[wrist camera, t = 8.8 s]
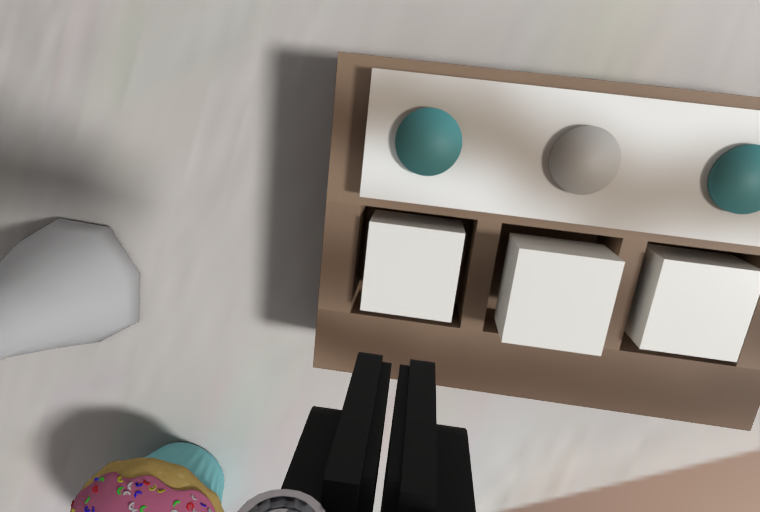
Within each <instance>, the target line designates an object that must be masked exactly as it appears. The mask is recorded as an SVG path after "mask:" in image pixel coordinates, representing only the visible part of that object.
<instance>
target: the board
mask: <svg viewBox="0 0 760 512" xmlns="http://www.w3.org/2000/svg"><path fill="white" fill-rule="evenodd" d="M375 210H384V211H392V212H400V213H408V214H416V215H424V216H432V217H440V218H448V219H455V220H462V222H463V226H464V230H465V240H464V246H463V252H462V259H461V265H460V271H459V277H458V283H457V290H456V296H455V302H454V308H453V315H452V321H451V323H450V322H443V321H436V320H428V319H421V318H414V317H407V316H399V315H392V314H385V313H378V312H370V311H363V310H360V306H361V297H362V287H363V278H364V268H365V259H366V249H367V240H368V230H369V221H370V219H371V218H372V216H373V214H374V212H375ZM510 233H517V234H525V235H533V236H541V237H549V238H557V239H564V240H572V241H580V242H588V243H596V244H604V245H605V246H606V247H607V248H609V249H610V250H611V251H612V252H614V253H615V254H616V255H617V256H618V257H620V258H621V259H622V260H623V261H625V264H624V268H623V272H622V276H621V280H620V284H619V288H618V292H617V296H616V300H615V304H614V308H613V311H612V315H611V319H610V323H609V327H608V331H607V335H606V339H605V343H604V347H603V351H602V355H601V356H596V355H589V354H582V353H574V352H567V351H560V350H553V349H546V348H539V347H532V346H524V345H517V344H510V343H503V342H501V339H500V336H499V333H498V329H497V326H496V322H495V319H494V315H495V310H496V304H497V299H498V294H499V288H500V283H501V278H502V272H503V267H504V261H505V256H506V251H507V245H508V240H509V234H510ZM647 244H653V245H661V246H669V247H677V248H685V249H693V250H700V251H708V252H716V253H724V254H732V255H734V256H736V257H738V258H740V259H742V260H744V261H746V262H748V263H750V264H752V265H754V266H756V267H758V268H760V97H751V96H742V95H733V94H724V93H714V92H705V91H696V90H687V89H677V88H668V87H659V86H650V85H641V84H631V83H622V82H613V81H604V80H594V79H585V78H576V77H567V76H558V75H548V74H539V73H530V72H521V71H511V70H502V69H493V68H484V67H475V66H465V65H456V64H447V63H438V62H428V61H419V60H410V59H401V58H392V57H382V56H373V55H364V54H355V53H345V52H338V61H337V73H336V86H335V98H334V111H333V123H332V136H331V148H330V161H329V173H328V186H327V198H326V211H325V223H324V236H323V248H322V261H321V273H320V286H319V298H318V311H317V323H316V336H315V348H314V361H313V367H315V368H322V369H329V370H336V371H343V372H350V373H353V370H354V366H355V363H356V359H357V355H358V352H364V353H372V354H379V355H383V362H388V363H392V367H391V375H390V378H391V379H398V374H399V367H400V364H402V365H409V364H410V359H414V360H421V361H428V362H435V374H436V385H439V386H445V387H452V388H459V389H466V390H473V391H480V392H487V393H493V394H500V395H507V396H514V397H521V398H528V399H535V400H541V401H548V402H555V403H562V404H569V405H576V406H583V407H589V408H596V409H603V410H610V411H617V412H624V413H631V414H637V415H644V416H651V417H658V418H665V419H672V420H679V421H685V422H692V423H699V424H706V425H713V426H720V427H727V428H733V429H740V430H747V431H750V430H751V428H752V425H753V422H754V419H755V417H756V414H757V411H758V408H759V406H760V295H759V298H758V301H757V304H756V307H755V310H754V313H753V316H752V319H751V322H750V325H749V327H748V330H747V333H746V336H745V339H744V342H743V345H742V348H741V351H740V354H739V357H738V360H737V362H731V361H724V360H717V359H710V358H702V357H695V356H688V355H681V354H673V353H666V352H659V351H652V350H644V349H639V348H638V346H637V345H636V344H635V343H634V342H633V341H632V339H631V338H630V337H629V336H628V335H627V334H626V332H625V331H624V330H625V326H626V322H627V318H628V315H629V311H630V307H631V303H632V300H633V296H634V292H635V288H636V284H637V281H638V277H639V273H640V269H641V266H642V262H643V258H644V254H645V250H646V247H647Z"/></svg>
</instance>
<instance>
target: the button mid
mask: <svg viewBox="0 0 760 512" xmlns="http://www.w3.org/2000/svg"><path fill="white" fill-rule="evenodd" d="M624 264H625V261H623V260H622V259H621V258H620V257H618V256H617V255H616V254H615V253H614V252H612V251H611V250H610V249H609V248H607V247H606V246H605V245H604V244H596V243H588V242H580V241H572V240H564V239H557V238H549V237H541V236H533V235H525V234H517V233H510V234H509V240H508V245H507V251H506V256H505V261H504V267H503V272H502V278H501V283H500V288H499V294H498V299H497V304H496V310H495V315H494V319H495V322H496V326H497V329H498V333H499V336H500V339H501V342H503V343H510V344H517V345H524V346H532V347H539V348H546V349H553V350H560V351H567V352H574V353H582V354H589V355H596V356H601V355H602V351H603V347H604V343H605V339H606V335H607V331H608V327H609V323H610V319H611V315H612V311H613V308H614V304H615V300H616V296H617V292H618V288H619V284H620V280H621V276H622V272H623V268H624Z"/></svg>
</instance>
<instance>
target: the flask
mask: <svg viewBox="0 0 760 512" xmlns="http://www.w3.org/2000/svg"><path fill="white" fill-rule="evenodd" d="M139 313H140V272H139V270H138V269H137V267H136V266H135V264H134V263H133V261H132V260H131V258H130V257H129V255H128V254H127V252H126V251H125V249H124V248H123V246H122V245H121V243H120V242H119V240H118V238H117V237H116V235H115V234H114V232H113V231H112V229H111V228H110V227H106V226H100V225H95V224H89V223H83V222H78V221H72V220H66V219H61V218H58V219H57V220H55V221H53V222H52V223H50V224H48V225H47V226H45V227H43V228H41V229H40V230H38V231H36V232H35V233H33V234H31V235H30V236H28V237H26V238H25V239H23V240H21V241H20V242H19V243H18V244H17V245H16V246H15V247H14V248H13V249H12V250H11V251H10V252H9V253H8V254H7V255H6V256H5V257H4V259H3V260H2V261H1V262H0V360H2V359H4V358H7V357H12V356H17V355H22V354H28V353H33V352H38V351H44V350H49V349H54V348H61V347H68V346H75V345H82V344H89V343H95V342H100V341H102V340H104V339H106V338H108V337H110V336H112V335H114V334H116V333H117V332H119V331H121V330H123V329H125V328H127V327H129V326H131V325H133V324H135V323H137V322H139Z"/></svg>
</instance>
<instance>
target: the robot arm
mask: <svg viewBox="0 0 760 512" xmlns="http://www.w3.org/2000/svg"><path fill="white" fill-rule="evenodd" d="M391 367H392V363H388V362H383V355H379V354H372V353H364V352H358V355H357V359H356V363H355V366H354V370H353V373H352V377H351V380H350V384H349V388H348V391H347V395H346V398H345V402H344V406H343V409H342V410H337V409H330V408H323V407H316V406H313V407H312V409H311V411H310V414H309V416H308V419H307V422H306V424H305V427H304V429H303V432H302V435H301V437H300V440H299V443H298V445H297V448H296V451H295V453H294V456H293V459H292V461H291V464H290V466H289V469H288V472H287V474H286V477H285V480H284V482H283V485H282V488H281V489H279V490H271V491H267V492H264V493H261V494H258V495H257V496H255V497H253V498H252V499H250V500H248V501H247V502H246V503H245V504H244V505H243V506H242V507H241V508H240V509H239V510H238V512H373V505H374V498H375V490H376V483H377V476H378V468H379V461H380V453H381V445H382V437H383V429H384V421H385V414H386V406H387V398H388V390H389V382H390V375H391ZM381 512H476V509H475V500H474V491H473V481H472V472H471V463H470V454H469V444H468V435H467V430H466V429H465V428H459V427H452V426H445V425H438V424H436V374H435V362H428V361H421V360H414V359H410V364H409V365H402V364H400V367H399V374H398V382H397V389H396V397H395V404H394V412H393V419H392V427H391V434H390V442H389V449H388V457H387V464H386V472H385V480H384V488H383V496H382V505H381Z"/></svg>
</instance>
